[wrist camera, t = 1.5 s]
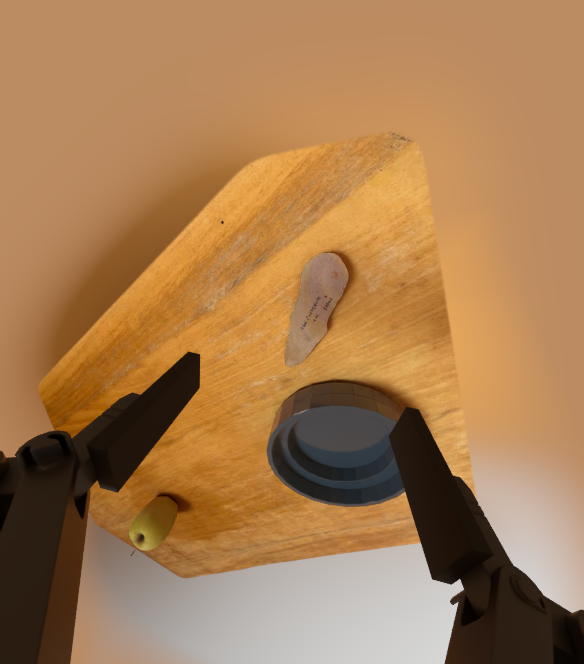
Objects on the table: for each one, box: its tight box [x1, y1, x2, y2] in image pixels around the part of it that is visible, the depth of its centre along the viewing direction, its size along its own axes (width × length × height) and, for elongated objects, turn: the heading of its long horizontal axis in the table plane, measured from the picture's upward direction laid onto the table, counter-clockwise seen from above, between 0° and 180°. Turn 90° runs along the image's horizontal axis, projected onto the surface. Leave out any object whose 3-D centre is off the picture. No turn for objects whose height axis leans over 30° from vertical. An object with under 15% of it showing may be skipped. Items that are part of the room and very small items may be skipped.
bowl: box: [267, 382, 405, 507], centre depth 32 cm, size 20×20×5 cm
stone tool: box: [285, 252, 349, 367], centre depth 26 cm, size 5×2×15 cm
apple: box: [130, 496, 178, 554], centre depth 47 cm, size 8×8×10 cm
